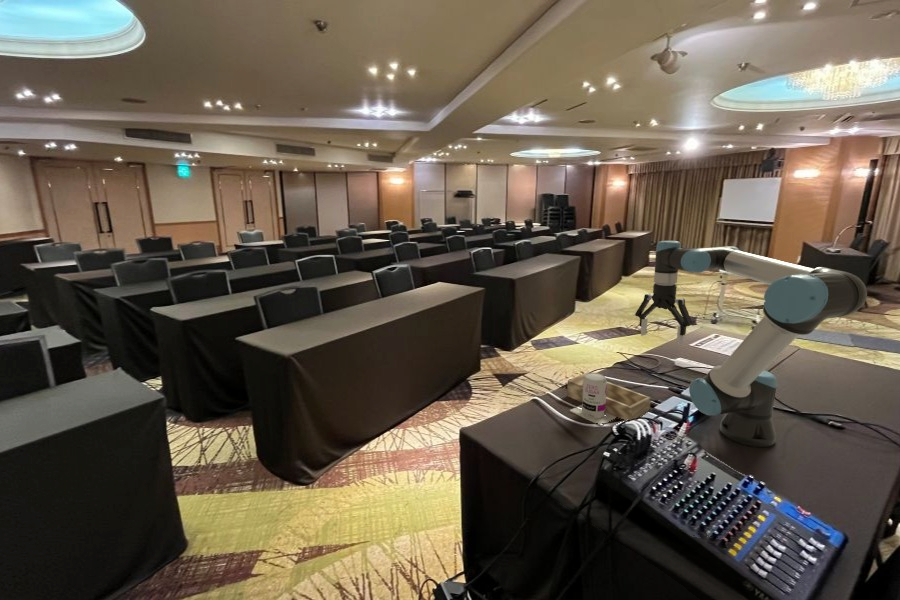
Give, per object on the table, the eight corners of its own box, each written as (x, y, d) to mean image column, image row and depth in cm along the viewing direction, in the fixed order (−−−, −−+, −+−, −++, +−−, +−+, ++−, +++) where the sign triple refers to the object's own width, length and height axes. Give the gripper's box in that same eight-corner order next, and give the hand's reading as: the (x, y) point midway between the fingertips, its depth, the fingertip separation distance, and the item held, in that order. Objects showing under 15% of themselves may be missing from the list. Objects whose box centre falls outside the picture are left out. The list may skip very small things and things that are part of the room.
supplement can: (601, 408, 157) (603, 372, 154) (607, 419, 149) (609, 381, 146) (580, 408, 158) (581, 372, 155) (584, 419, 150) (586, 381, 147)
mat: (616, 418, 151) (616, 417, 151) (601, 426, 146) (601, 424, 146) (584, 404, 162) (584, 403, 162) (569, 411, 157) (569, 410, 157)
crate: (649, 412, 154) (650, 394, 153) (629, 423, 147) (630, 405, 146) (587, 387, 177) (587, 372, 175) (567, 396, 170) (567, 380, 168)
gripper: (706, 286, 142) (700, 344, 147) (638, 278, 162) (635, 329, 167) (696, 289, 138) (690, 349, 142) (627, 280, 158) (624, 333, 162)
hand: (660, 339), depth 154 cm, fingers open, 13 cm apart
